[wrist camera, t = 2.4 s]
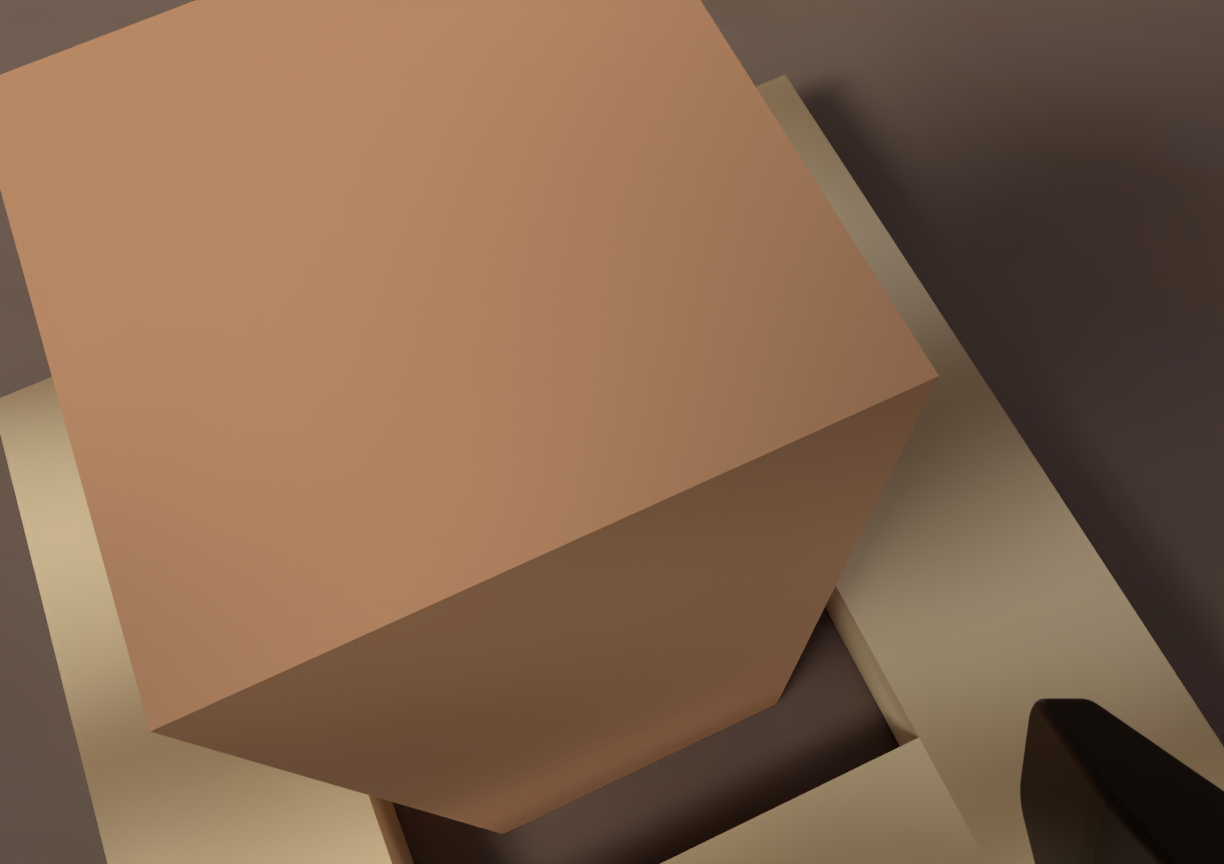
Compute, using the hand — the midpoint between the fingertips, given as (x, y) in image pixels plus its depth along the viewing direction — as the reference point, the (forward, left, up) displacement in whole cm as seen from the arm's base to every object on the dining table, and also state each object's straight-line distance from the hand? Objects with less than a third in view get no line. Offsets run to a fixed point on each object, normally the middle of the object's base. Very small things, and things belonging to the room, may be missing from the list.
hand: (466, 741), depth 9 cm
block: (+3, -1, -10) cm, 10 cm away
